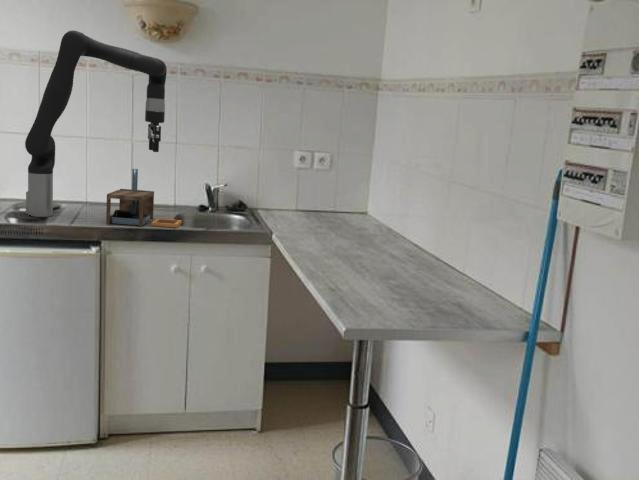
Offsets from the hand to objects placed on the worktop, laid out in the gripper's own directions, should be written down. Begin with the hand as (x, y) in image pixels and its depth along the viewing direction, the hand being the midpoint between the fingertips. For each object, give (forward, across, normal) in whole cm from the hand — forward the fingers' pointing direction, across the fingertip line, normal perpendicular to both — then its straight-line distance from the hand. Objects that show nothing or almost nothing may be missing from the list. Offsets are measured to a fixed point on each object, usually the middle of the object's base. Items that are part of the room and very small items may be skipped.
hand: (153, 151), depth 270 cm
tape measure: (+29, -1, -8) cm, 31 cm away
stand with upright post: (+29, -1, -9) cm, 31 cm away
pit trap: (+29, +5, +5) cm, 30 cm away
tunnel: (+29, -1, -8) cm, 31 cm away
